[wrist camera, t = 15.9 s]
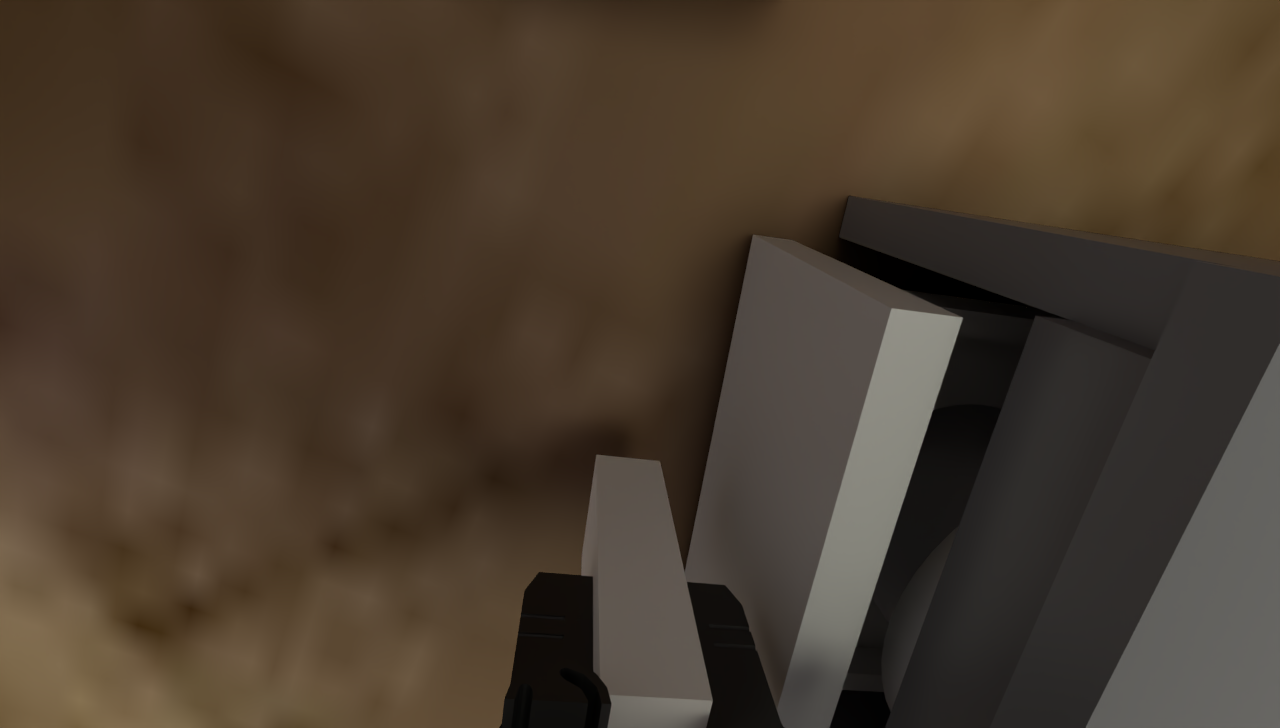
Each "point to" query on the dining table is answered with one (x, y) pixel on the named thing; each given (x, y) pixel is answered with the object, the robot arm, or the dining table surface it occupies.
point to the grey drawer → (842, 459)
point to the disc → (910, 619)
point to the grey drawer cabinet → (1105, 490)
